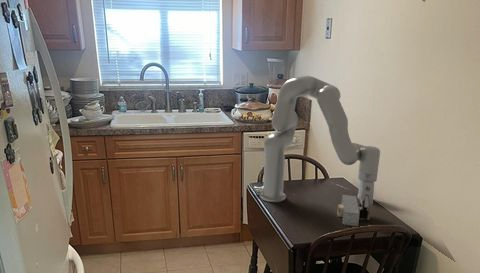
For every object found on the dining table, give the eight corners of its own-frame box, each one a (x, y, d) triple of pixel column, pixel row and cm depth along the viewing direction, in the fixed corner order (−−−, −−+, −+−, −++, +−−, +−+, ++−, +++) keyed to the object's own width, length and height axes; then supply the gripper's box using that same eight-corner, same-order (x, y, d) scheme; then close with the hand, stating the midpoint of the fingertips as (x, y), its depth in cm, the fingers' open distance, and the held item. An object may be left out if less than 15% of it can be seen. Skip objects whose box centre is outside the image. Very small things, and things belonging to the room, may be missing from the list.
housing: (342, 224, 153) (344, 211, 152) (341, 206, 171) (342, 194, 170) (357, 226, 152) (359, 213, 151) (354, 207, 170) (356, 196, 169)
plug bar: (337, 216, 161) (338, 207, 160) (337, 212, 164) (338, 204, 164) (369, 220, 158) (370, 211, 157) (368, 216, 162) (369, 207, 161)
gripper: (379, 183, 147) (374, 225, 152) (374, 170, 163) (369, 209, 168) (359, 181, 149) (355, 223, 153) (356, 168, 165) (352, 207, 169)
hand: (362, 215), depth 160 cm, fingers closed on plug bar, 4 cm apart
